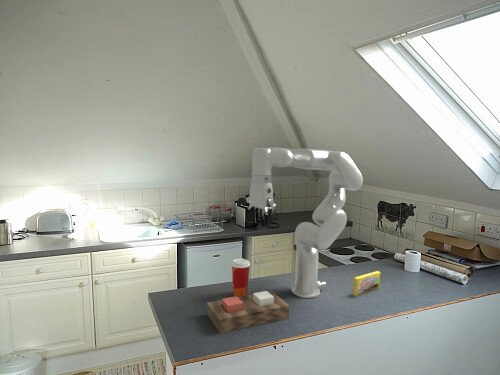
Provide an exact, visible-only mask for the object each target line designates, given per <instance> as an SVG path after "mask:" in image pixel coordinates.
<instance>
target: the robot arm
mask: <svg viewBox="0 0 500 375" xmlns="http://www.w3.org/2000/svg"><path fill="white" fill-rule="evenodd" d="M272 167H279V168H286V167H291V168H296V169H302V170H314V171H315V170H317V171H319V170H320V171H330V173H329V176H328V186H329V188H328V193H327V195H326V196H325V197H324V199H323V200H322V202H321V203H320V204H319V205H318V206H317V207H316V208H315V210H314V211H313V213H312V216H311V217H312V220H313V222H314V223H313V222H309V221H304V222H303V221H302V222H300V223H299V224H298V225H297V227H296V228H295V232H294V238H295V243H296V244H295V246H296V258H295V277H294V281H295V282H294V283H295V284H294V285H293V286H292V287H291V293H292V294H293V295H295V296H296V297H300V298H305V299H313V298H316V297H319V295H321V294H320V293H321V290H320V288H321V287H325V286H327V285H326V281H322V282H321V281H320V280H318V267H319V251H325V250H326V249H328V248H330V247H331V245H332V244H333V243H334V242H335V240H336V239H337V238H338V237H339V235H340V234H341V233H342V232H343V230H344V229H345V227H346V225H347V221H348V217H347V214H346V212H345V211H344V209H342V208H343V207H344V205H345V203H346V190H347V191H348V190H349V191H353V192H354V191H357V190H360V188H362V186H363V183H364V179H363V175H362V173H361V171H360V169H359V168H358V167H357V165H356V163H354V161H353V160H352V158H351V157H350V156H349V155H348V154H347V153H345V152H344V151H336V150H325V149H324V150H323V149H315V148H314V149H311V148H284V147H274V146H272V147H271V146H270V147H254V149H253V151H252V168H251V170H252V171H251V184H250V189H249V196H247V197H246V198H245V201H246V205H247V210H248V220H252V221H253V220H255V219H256V218H257V217H256V216H257V210H256V208H257V209H261V210H263V211H264V216H263V225H265V226H269V225H272V215H273V213H274V212H275V209H276V207H277V205H276V203H275V202H274V188H273V184H272Z"/></svg>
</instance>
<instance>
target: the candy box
mask: <svg viewBox="0 0 500 375" xmlns="http://www.w3.org/2000/svg"><path fill="white" fill-rule="evenodd" d="M381 274H382V273H381V272H380V271H379V270H376V271H373V272H369V273H366V274H362V275H360V276H359V275H358V276H355V277H354V278H353V279H354V280H353V287H352V289H353V290H352V296H354V297H358V296H360V295H363V294H367V293H370V292H372V291H376V290H378V289H380V280H381Z"/></svg>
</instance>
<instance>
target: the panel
mask: <svg viewBox="0 0 500 375" xmlns="http://www.w3.org/2000/svg"><path fill="white" fill-rule="evenodd" d="M268 292H269V293H270V294H271V295H272V296H273V297H274V304H270V305H265V306H260V307H259V306H258V305H257V304H256V303H255V302H254V301H253V293H252V294H247V295H246V296H241V297H238V298H239V299H240V300H241V301H242V302H243V310H240V311H235V312H230V313H227V312H226V311H225V310H224V308H223V307H222V299H220V300H215V301H209V302H207V305H206V309H207V310H206V315H207V317H208V318H209V320H210V321H211V322H212V325H214V327H215V329H216V330H217V331H218V332H219V334H223V333H228V332H231V331H235V330H242V329H246V328H249V327H254V326H259V325H262V324H266V323H272V322H276V321H281V320H286V319H289V318H290V305H289V304H288V303H287V302H286V301H284V300H283V299H282V298H281V297H280V296H278V294H276V293H275V292H274V291H273V290H269V291H268Z"/></svg>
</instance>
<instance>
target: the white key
mask: <svg viewBox="0 0 500 375" xmlns="http://www.w3.org/2000/svg"><path fill="white" fill-rule="evenodd" d="M252 294H253V301H254V302H255V303H256V304H257V305H258V306H259V307H260V306H265V305H270V304H274V297H273V296H272V295H271V294H270V293H269V291H267V290H263V291H259V292H258V291H257V292H254V293H252Z"/></svg>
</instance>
